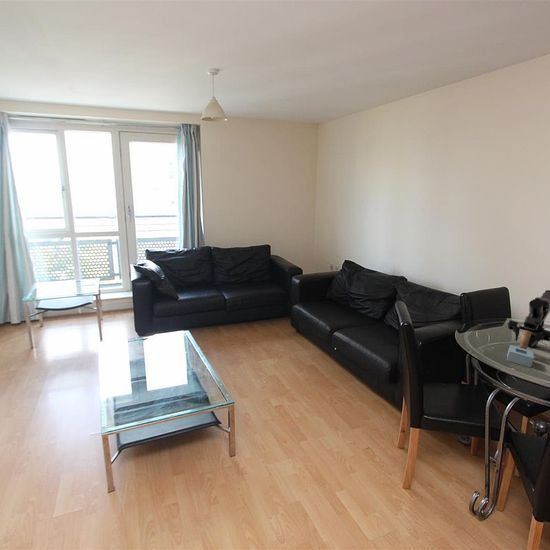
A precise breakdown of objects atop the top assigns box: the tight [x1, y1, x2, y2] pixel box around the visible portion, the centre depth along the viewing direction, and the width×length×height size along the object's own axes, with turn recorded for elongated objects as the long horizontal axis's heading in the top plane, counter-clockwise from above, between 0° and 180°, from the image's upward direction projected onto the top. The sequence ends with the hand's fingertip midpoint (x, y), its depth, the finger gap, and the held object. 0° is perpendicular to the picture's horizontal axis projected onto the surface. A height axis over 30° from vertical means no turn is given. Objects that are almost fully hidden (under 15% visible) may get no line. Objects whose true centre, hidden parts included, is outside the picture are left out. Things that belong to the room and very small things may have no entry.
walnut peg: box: [518, 330, 532, 350], centre depth 191 cm, size 4×4×13 cm
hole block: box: [506, 344, 535, 368], centre depth 185 cm, size 10×10×5 cm
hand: (523, 343), depth 190 cm, fingers open, 6 cm apart
